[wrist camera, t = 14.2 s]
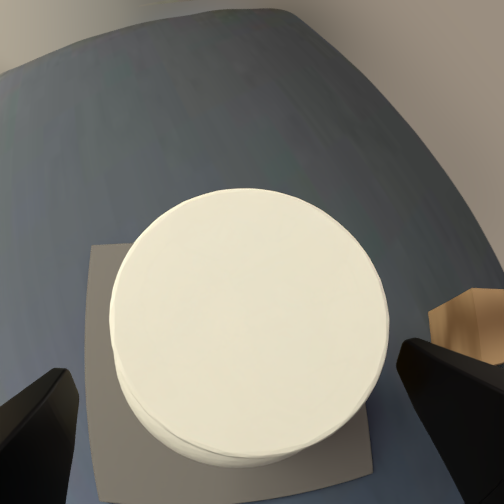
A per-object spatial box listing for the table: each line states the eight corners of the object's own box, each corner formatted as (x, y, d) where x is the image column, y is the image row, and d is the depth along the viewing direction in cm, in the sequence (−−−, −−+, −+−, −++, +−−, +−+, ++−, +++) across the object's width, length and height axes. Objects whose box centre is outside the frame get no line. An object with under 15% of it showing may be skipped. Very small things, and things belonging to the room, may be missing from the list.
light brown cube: (476, 371, 18) (522, 357, 14) (433, 378, 18) (482, 367, 13) (470, 311, 21) (512, 289, 16) (427, 312, 20) (471, 288, 16)
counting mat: (368, 471, 15) (373, 472, 14) (102, 498, 12) (99, 501, 11) (329, 239, 22) (332, 235, 21) (94, 249, 19) (91, 245, 18)
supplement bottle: (250, 296, 18) (320, 121, 7) (304, 396, 16) (481, 370, 5) (144, 341, 16) (28, 215, 5) (195, 449, 14) (164, 568, 3)
